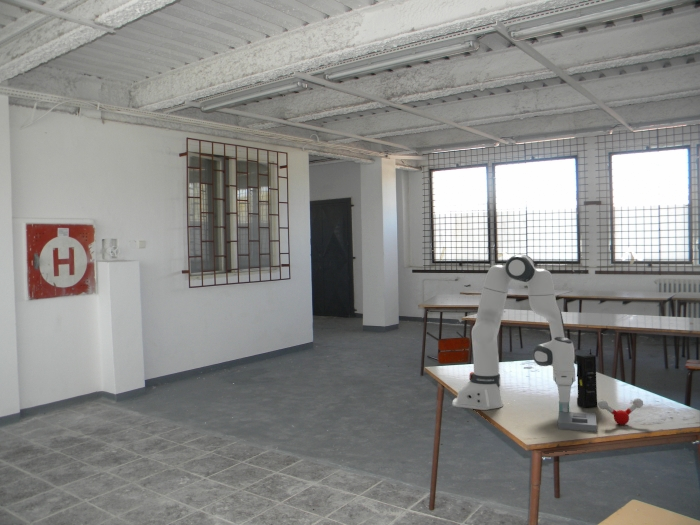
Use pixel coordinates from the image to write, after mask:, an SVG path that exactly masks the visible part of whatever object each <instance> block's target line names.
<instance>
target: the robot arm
mask: <svg viewBox="0 0 700 525" xmlns="http://www.w3.org/2000/svg"><path fill="white" fill-rule="evenodd" d="M535 266H536V265H535V262H534V259H532V257H531V256H529V255H526V254H523V253H522V254H521V253H519V254H516V255H512V256H511V257H509V258H508V259H507V261H506V262H505V265H501V264H495V265H491V267H489V269H488V271H487V274H486V275H485V279H484V282H483V285H482V290H481V294H480V298H479V302H478V309H477V313H476V320H475V323H474V325H473V326H472V329H471V343H472V355H473V371H471V372H470V373H469V376H468V377H469V381H468V382H467V383H465V384H464V385H463V386H462V387H460V388H459V389H458V392H457V397H455V398H453V400H452V404H451V405H452V406H453V407H457V408H466V409H472V410H473V409H474V410H481V411H487V410H492V409H493V410H494V409H498V408H501V407H503V406H504V403H503V399H502V395H501V389H500V388H501V374H500V373H499V370H500V368H499V363H500V362H499V360H500V359H499V346H498V345H499V344H498V335H499V331H500V327H501V322H502V319H503V314H504V308H505V307H506V306H505V305H506V301H507V297H508V292H509V288H510V285H511V283H512V282H513V280H515V281H519V282H524V283H526V285H527V290H528V303H529V306H530V307H529V308H530V309H531V310H532V312H534V313H535V314H536V315H538V316H540V317H543V318H544V319H545V320H546V321H547V323H548V325H549V331H550V336H551V340H550V341H547V342H544V343H541V344H537V345H535V346H534V347H533V349H532V359H533V361H534V362H535V364H536V365H537V366H539V367H549V366H551V367H552V377H553V378H552V379H553V382H555V385H556V388H557V393H558V401H559V400H560V403H561V404H562V407H563V412H567V406H568V404H569V405H570V401H571V392H572V391H571V390H572V386H573V384H574V382H576V367H575V361H576V355H575V346H574V342H573V341H572V339H570V338H568V337H567V335H566V329H565V324H564V319H563V314H562V311H561V308H560V307H559V306H558V302H557V299H556V290H555V289H556V288H555V283H554V280H553V275H552V273H551V272H550V270H548V269H545V268H536V267H535Z"/></svg>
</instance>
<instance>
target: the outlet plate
mask: <svg viewBox="0 0 700 525" xmlns="http://www.w3.org/2000/svg"><path fill="white" fill-rule="evenodd" d="M557 417H558V420H557V429H559V430H570V431H580V430H581V431H582V432H595V433H598V423H597V417H596V413H592V412H576V411H569V412H563V411H559V410H558V416H557Z"/></svg>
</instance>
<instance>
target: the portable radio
mask: <svg viewBox="0 0 700 525" xmlns="http://www.w3.org/2000/svg"><path fill="white" fill-rule="evenodd" d="M575 361H576V363H577V364H576V377H577V397H576V405H577V406H579V407H581V408H584V409H588V408H596V407H598V390H597V389H598V388H597V358H596V355H595V354H592V348H589V353H582V354H576V355H575Z"/></svg>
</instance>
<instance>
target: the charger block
mask: <svg viewBox="0 0 700 525" xmlns="http://www.w3.org/2000/svg"><path fill="white" fill-rule="evenodd" d="M559 411H563V407H562V404H561V403H560V400H559V399H558V412H559ZM567 412H570V403H569V404H568V406H567Z"/></svg>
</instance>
